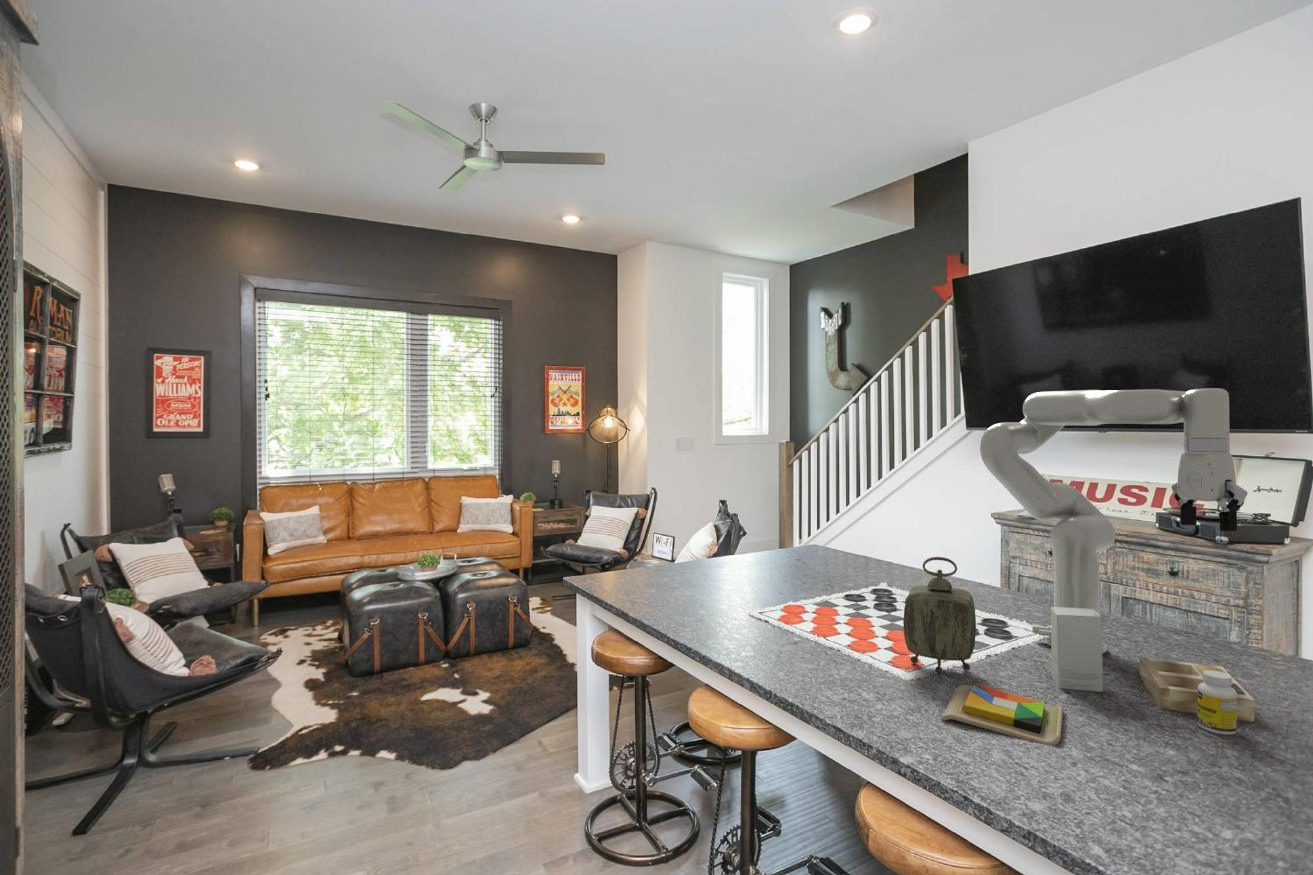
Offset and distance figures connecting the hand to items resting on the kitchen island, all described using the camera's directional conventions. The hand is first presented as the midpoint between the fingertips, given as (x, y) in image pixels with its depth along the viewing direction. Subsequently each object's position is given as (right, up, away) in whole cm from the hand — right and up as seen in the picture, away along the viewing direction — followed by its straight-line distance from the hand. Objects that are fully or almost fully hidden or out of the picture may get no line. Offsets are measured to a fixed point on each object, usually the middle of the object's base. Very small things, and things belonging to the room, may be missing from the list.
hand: (1207, 527), depth 145 cm
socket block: (-11, -32, -9) cm, 35 cm away
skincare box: (-30, -32, -3) cm, 44 cm away
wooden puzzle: (-53, -33, -18) cm, 65 cm away
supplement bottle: (-18, -33, -24) cm, 44 cm away
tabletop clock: (-55, -32, +5) cm, 64 cm away
